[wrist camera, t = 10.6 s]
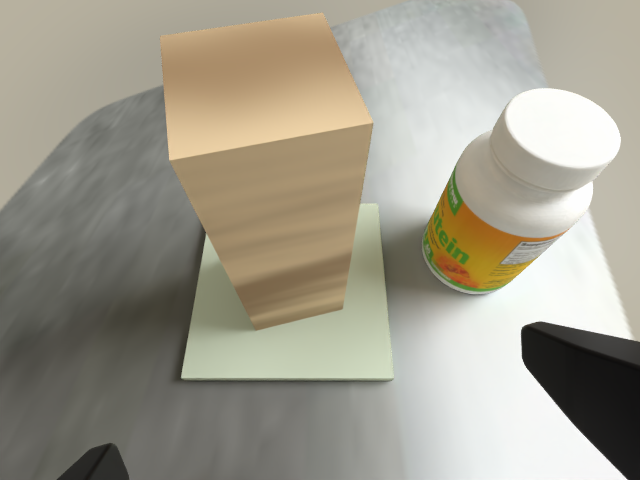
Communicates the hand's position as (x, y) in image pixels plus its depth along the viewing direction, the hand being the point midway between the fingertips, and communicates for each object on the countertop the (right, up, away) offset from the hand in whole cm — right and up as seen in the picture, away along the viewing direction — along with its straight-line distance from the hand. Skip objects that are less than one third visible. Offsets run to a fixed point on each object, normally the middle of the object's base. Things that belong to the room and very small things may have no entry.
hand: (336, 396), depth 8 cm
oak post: (-2, +1, +12) cm, 12 cm away
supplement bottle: (+8, +3, +14) cm, 16 cm away
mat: (-2, +1, +13) cm, 13 cm away
